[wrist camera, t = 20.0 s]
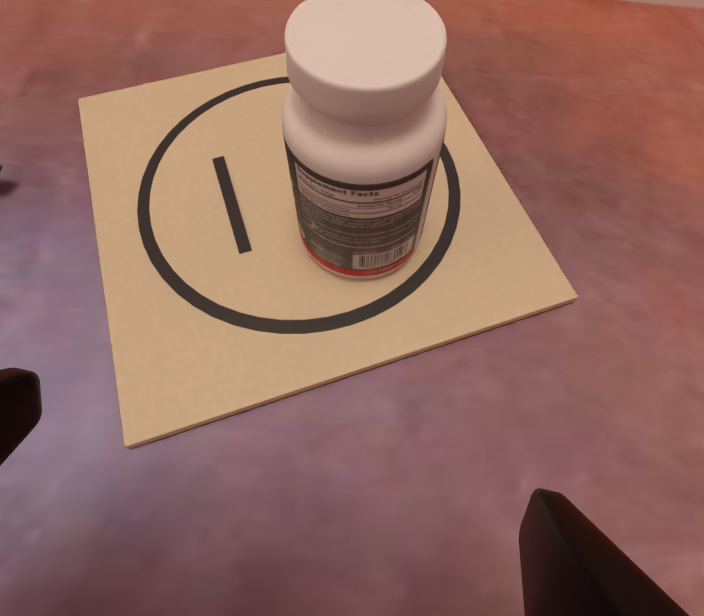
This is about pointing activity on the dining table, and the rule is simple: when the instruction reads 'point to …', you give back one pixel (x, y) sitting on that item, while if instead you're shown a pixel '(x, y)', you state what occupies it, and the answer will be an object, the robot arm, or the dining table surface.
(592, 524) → the robot arm
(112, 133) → the board
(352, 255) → the pill bottle
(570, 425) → the dining table surface
